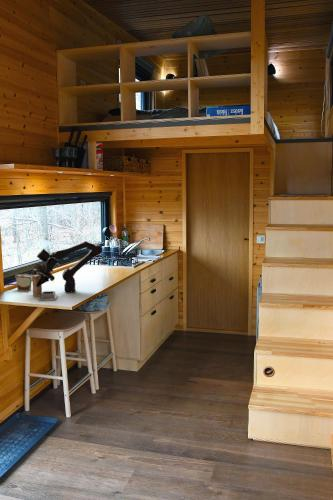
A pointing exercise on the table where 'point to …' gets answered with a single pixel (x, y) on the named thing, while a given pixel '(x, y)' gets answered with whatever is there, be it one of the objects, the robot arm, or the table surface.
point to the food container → (24, 281)
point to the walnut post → (36, 290)
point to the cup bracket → (48, 296)
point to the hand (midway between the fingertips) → (35, 285)
